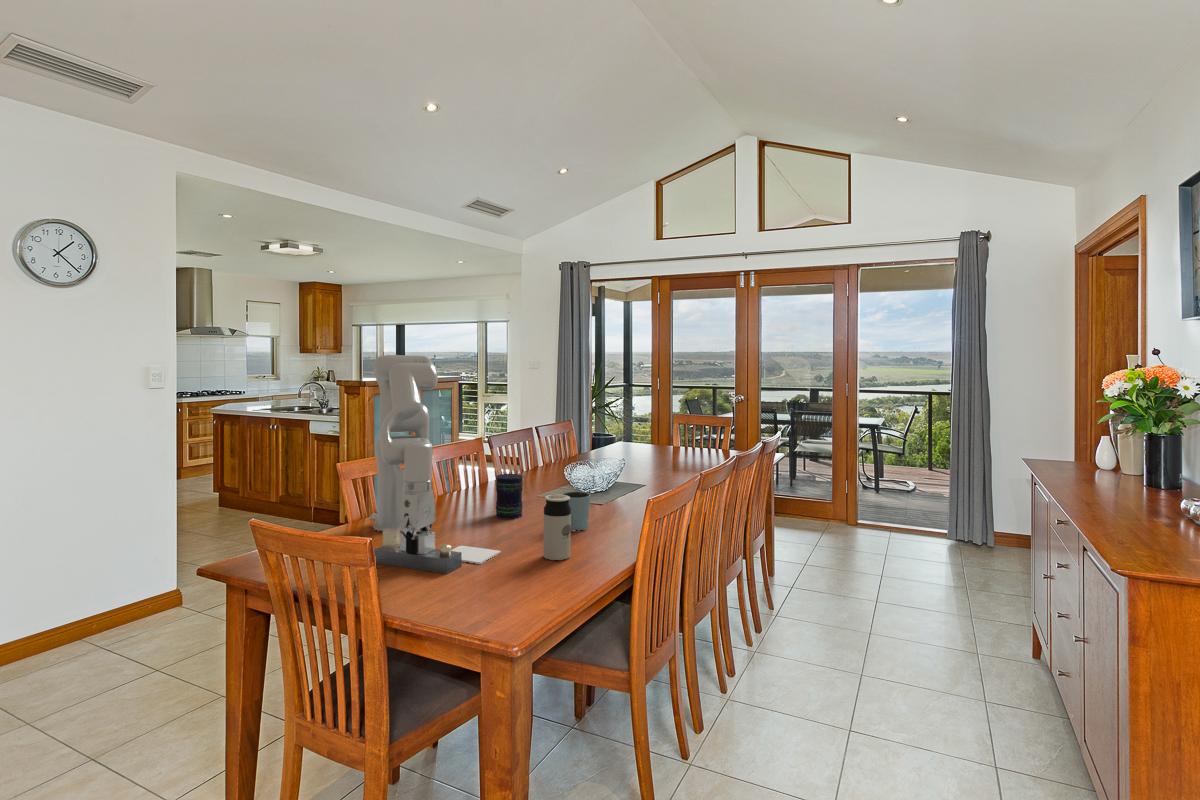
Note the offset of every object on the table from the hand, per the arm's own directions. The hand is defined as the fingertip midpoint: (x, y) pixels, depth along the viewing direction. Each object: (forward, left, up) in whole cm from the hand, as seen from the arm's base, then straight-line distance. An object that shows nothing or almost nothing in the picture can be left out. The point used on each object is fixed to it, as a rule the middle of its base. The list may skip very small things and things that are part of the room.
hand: (417, 549), depth 181 cm
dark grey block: (0, 0, -4) cm, 4 cm away
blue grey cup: (+26, +54, -5) cm, 60 cm away
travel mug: (+33, +22, -5) cm, 40 cm away
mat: (+9, +13, -4) cm, 16 cm away
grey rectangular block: (0, 0, 0) cm, 0 cm away
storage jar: (-3, +60, -5) cm, 60 cm away
